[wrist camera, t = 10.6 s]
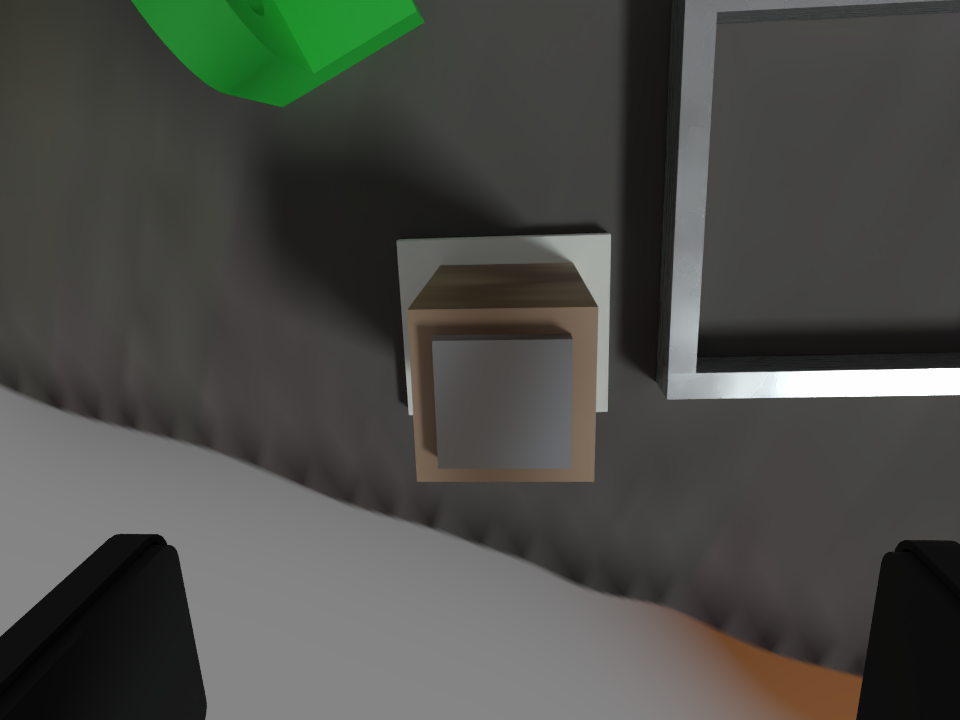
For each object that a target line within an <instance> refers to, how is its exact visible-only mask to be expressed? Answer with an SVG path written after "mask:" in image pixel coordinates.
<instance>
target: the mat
mask: <svg viewBox="0 0 960 720" xmlns="http://www.w3.org/2000/svg"><path fill="white" fill-rule="evenodd" d="M396 242H397V256H398V270H399V284H400V298H401V312H402V326H403V340H404V354H405V368H406V382H407V396H408V410H409V415H413V402H412V385H411V368H410V351H409V334H408V317H407V309H408V308H409V307H410V305H411V304H412V303H413V301H414V300H415V298H416V297H417V296H418V294H419V293H420V292H421V290H422V289H423V288H424V286H425V285H426V284H427V282H428V281H429V280H430V278H431V277H432V276H433V274H434V273H435V272H436V270H437V269H438V268H439V266H440V265H477V264H531V263H573V264H574V265H575V267H576V269H577V271H578V272H579V274H580V276H581V278H582V279H583V281H584V283H585V284H586V286H587V288H588V290H589V291H590V293H591V295H592V297H593V298H594V300H595V302H596V304H597V305H598V344H597V384H596V412H607V411H608V359H609V307H610V255H611V234H610V233H584V234H552V235H520V236H489V237H457V238H425V239H399V240H397V241H396Z"/></svg>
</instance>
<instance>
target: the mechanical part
mask: <svg viewBox="0 0 960 720" xmlns="http://www.w3.org/2000/svg"><path fill="white" fill-rule="evenodd" d="M131 1H132V2H133V4H134V5H135V6H136V8H137V9H138V11H139V12H140V13H141V15H142V16H143V17H144V19H145V20H146V21H147V23H148V24H149V25H150V26H151V28H152V29H153V30H154V31H155V33H156V34H157V35H158V36H159V37H160V39H161V40H162V41H163V42H164V43H165V45H166V46H167V47H168V48H169V49H170V50H171V51H172V52H173V53H174V54H175V55H176V57H177V58H178V59H179V60H180V61H181V62H182V63H183V64H184V65H185V66H186V67H187V68H188V69H190V70H191V71H192V72H193V73H194V74H195V75H196V76H197V77H199V78H200V79H201V80H202V81H204V82H205V83H206V84H208V85H209V86H211V87H212V88H214V89H216V90H218V91H220V92H222V93H225V94H229V95H233V96H238V97H242V98H246V99H250V100H254V101H259V102H263V103H267V104H271V105H275V106H280V107H284V106H286V105H288V104H289V103H291V102H293V101H294V100H296V99H298V98H299V97H301V96H303V95H304V94H306V93H308V92H309V91H311V90H313V89H314V88H316V87H318V86H319V85H321V84H323V83H324V82H326V81H328V80H329V79H331V78H333V77H334V76H336V75H337V74H339V73H341V72H342V71H344V70H346V69H347V68H349V67H351V66H352V65H354V64H356V63H357V62H359V61H361V60H362V59H364V58H366V57H367V56H369V55H371V54H372V53H374V52H376V51H377V50H379V49H381V48H382V47H384V46H386V45H387V44H389V43H391V42H392V41H394V40H396V39H397V38H399V37H401V36H402V35H404V34H406V33H407V32H409V31H411V30H412V29H414V28H416V27H417V26H419V25H421V24H422V23H424V20H423V18H422V16H421V14H420V12H419V10H418V8H417V6H416V4H415V2H414V0H131Z"/></svg>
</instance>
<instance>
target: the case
mask: <svg viewBox="0 0 960 720" xmlns="http://www.w3.org/2000/svg"><path fill="white" fill-rule="evenodd" d="M946 12H960V0H672V8H671V33H670V57H669V82H668V106H667V130H666V155H665V179H664V204H663V228H662V253H661V277H660V302H659V326H658V351H657V375H656V383H657V384H658V386H659V387H660V389H661V391H662V392H663V394H664V395H665V397H666V398H667V399H717V398H779V397H840V396H901V395H960V352H956V353H906V354H856V355H806V356H756V357H706V358H697V345H698V328H699V311H700V294H701V277H702V260H703V243H704V226H705V208H706V191H707V174H708V157H709V140H710V123H711V106H712V89H713V72H714V55H715V37H716V24H725V23H745V22H765V21H785V20H805V19H825V18H845V17H865V16H885V15H905V14H925V13H946Z"/></svg>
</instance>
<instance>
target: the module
mask: <svg viewBox="0 0 960 720" xmlns="http://www.w3.org/2000/svg"><path fill="white" fill-rule="evenodd" d="M407 317H408V334H409V351H410V368H411V385H412V402H413V419H414V437H415V454H416V471H417V482H594V463H595V424H596V384H597V344H598V305H597V304H596V302H595V300H594V298H593V297H592V295H591V293H590V291H589V290H588V288H587V286H586V284H585V283H584V281H583V279H582V278H581V276H580V274H579V272H578V271H577V269H576V267H575V265H574V264H573V263H531V264H477V265H440V266H439V268H438V269H437V270H436V272H435V273H434V274H433V276H432V277H431V278H430V280H429V281H428V282H427V284H426V285H425V286H424V288H423V289H422V290H421V292H420V293H419V294H418V296H417V297H416V298H415V300H414V301H413V303H412V304H411V305H410V307H409V308H408V309H407Z"/></svg>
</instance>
